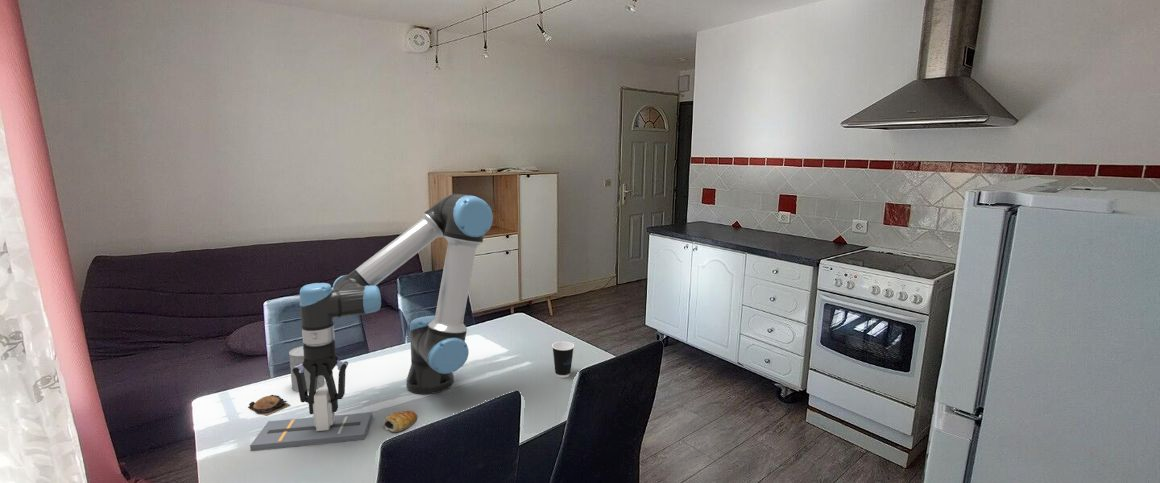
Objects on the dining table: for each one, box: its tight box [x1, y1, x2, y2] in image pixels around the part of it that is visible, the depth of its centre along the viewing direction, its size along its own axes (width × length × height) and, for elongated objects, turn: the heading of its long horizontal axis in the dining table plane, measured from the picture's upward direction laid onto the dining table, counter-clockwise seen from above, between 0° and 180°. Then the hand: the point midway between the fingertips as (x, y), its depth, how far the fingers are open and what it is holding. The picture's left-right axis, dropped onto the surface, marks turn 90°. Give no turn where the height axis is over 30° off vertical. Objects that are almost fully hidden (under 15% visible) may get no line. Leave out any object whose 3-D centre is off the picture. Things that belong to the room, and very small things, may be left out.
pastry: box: [381, 409, 418, 433], centre depth 139 cm, size 9×7×4 cm
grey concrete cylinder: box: [288, 345, 326, 393], centre depth 160 cm, size 10×10×12 cm
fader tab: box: [314, 386, 331, 431], centre depth 133 cm, size 3×5×10 cm, turn 13°
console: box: [249, 411, 373, 452], centre depth 134 cm, size 27×12×2 cm, turn 103°
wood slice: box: [247, 394, 291, 416], centre depth 147 cm, size 11×8×4 cm
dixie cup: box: [551, 340, 575, 379], centre depth 173 cm, size 8×8×11 cm
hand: (324, 423), depth 134 cm, fingers closed on fader tab, 3 cm apart
